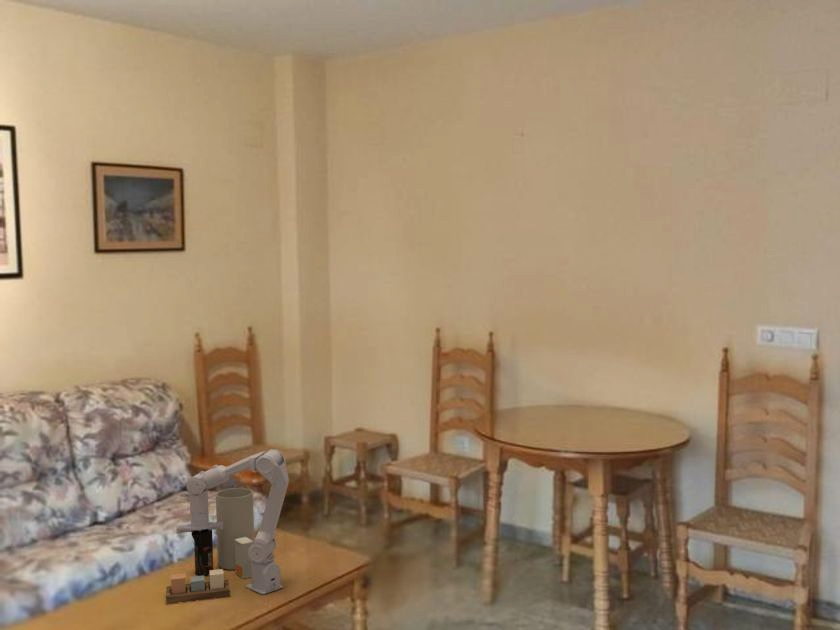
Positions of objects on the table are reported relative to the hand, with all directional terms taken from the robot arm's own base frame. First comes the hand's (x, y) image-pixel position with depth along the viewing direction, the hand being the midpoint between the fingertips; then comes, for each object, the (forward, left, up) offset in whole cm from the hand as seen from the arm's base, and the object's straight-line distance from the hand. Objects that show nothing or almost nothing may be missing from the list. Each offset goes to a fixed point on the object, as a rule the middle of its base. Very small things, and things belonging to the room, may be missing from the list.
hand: (200, 552), depth 267 cm
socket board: (-7, +6, -10) cm, 14 cm away
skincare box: (-4, -14, -11) cm, 18 cm away
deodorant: (+8, -6, -11) cm, 15 cm away
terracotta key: (-4, +10, -8) cm, 14 cm away
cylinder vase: (+7, -18, -11) cm, 22 cm away
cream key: (-10, 0, -8) cm, 13 cm away
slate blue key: (-7, +5, -10) cm, 13 cm away
